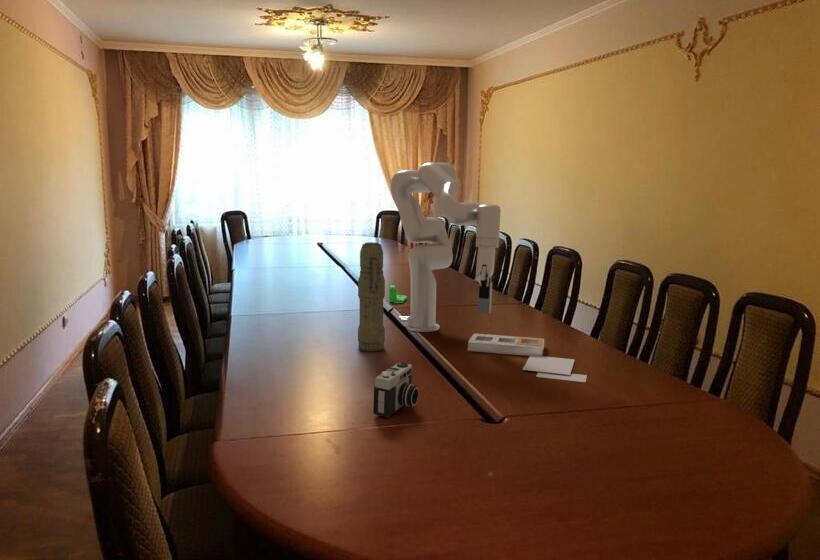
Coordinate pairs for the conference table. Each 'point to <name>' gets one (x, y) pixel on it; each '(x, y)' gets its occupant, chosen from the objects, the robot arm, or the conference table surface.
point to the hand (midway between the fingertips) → (484, 296)
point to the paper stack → (553, 368)
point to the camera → (394, 390)
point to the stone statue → (371, 298)
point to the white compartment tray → (506, 344)
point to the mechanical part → (393, 296)
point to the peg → (485, 301)
